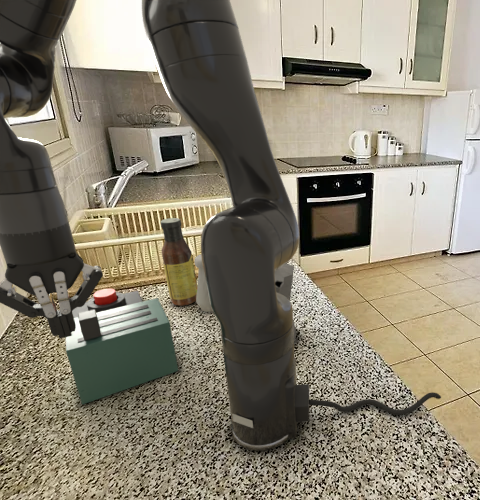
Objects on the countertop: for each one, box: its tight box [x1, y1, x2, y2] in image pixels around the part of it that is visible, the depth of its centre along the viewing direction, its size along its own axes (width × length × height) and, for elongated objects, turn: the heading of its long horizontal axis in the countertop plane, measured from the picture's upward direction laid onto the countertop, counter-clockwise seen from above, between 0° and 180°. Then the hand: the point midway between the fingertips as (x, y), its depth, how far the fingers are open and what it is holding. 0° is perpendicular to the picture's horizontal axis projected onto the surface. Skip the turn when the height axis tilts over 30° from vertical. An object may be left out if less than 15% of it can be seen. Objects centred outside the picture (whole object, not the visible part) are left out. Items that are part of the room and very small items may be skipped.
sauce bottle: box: [160, 217, 198, 307], centre depth 85 cm, size 6×6×20 cm
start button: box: [92, 288, 117, 305], centre depth 80 cm, size 4×4×2 cm
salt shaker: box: [194, 253, 214, 313], centre depth 83 cm, size 6×6×13 cm
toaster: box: [65, 297, 179, 405], centre depth 63 cm, size 14×10×10 cm
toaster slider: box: [78, 310, 101, 341], centre depth 57 cm, size 2×3×4 cm
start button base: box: [72, 290, 143, 318], centre depth 81 cm, size 13×10×4 cm
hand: (65, 334), depth 55 cm, fingers closed
